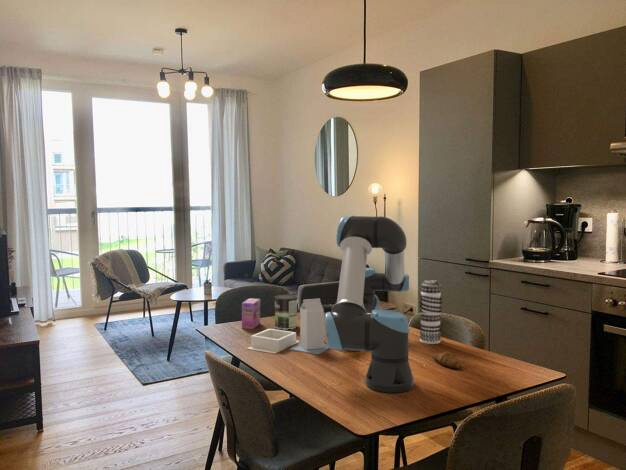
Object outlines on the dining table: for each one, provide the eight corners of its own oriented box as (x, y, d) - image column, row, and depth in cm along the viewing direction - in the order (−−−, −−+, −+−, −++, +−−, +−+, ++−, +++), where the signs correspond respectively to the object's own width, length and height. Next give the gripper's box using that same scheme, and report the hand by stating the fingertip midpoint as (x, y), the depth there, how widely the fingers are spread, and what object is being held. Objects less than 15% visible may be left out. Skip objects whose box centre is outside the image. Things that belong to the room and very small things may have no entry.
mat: (318, 354, 198) (318, 353, 198) (288, 349, 205) (288, 348, 205) (333, 345, 210) (333, 345, 210) (305, 341, 216) (305, 340, 216)
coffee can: (277, 330, 233) (277, 299, 232) (272, 325, 243) (272, 295, 242) (300, 328, 236) (300, 297, 235) (294, 323, 246) (293, 293, 245)
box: (253, 329, 236) (253, 303, 235) (241, 328, 237) (241, 302, 236) (260, 323, 246) (260, 298, 245) (249, 323, 247) (248, 298, 246)
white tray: (274, 353, 199) (274, 342, 199) (246, 349, 206) (246, 337, 205) (300, 341, 216) (299, 330, 216) (273, 337, 222) (273, 326, 222)
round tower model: (414, 340, 217) (414, 280, 215) (427, 336, 223) (428, 278, 221) (432, 345, 210) (433, 283, 208) (446, 341, 217) (447, 280, 215)
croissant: (467, 369, 182) (467, 355, 182) (451, 372, 180) (451, 357, 179) (442, 358, 195) (442, 345, 194) (427, 360, 192) (427, 347, 192)
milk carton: (323, 348, 205) (323, 300, 204) (306, 350, 203) (306, 301, 201) (316, 343, 212) (316, 296, 210) (300, 345, 209) (300, 298, 208)
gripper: (373, 321, 214) (337, 331, 199) (329, 311, 232) (293, 319, 217) (373, 303, 213) (337, 311, 199) (329, 294, 231) (293, 301, 217)
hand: (314, 315), depth 208 cm, fingers open, 13 cm apart
